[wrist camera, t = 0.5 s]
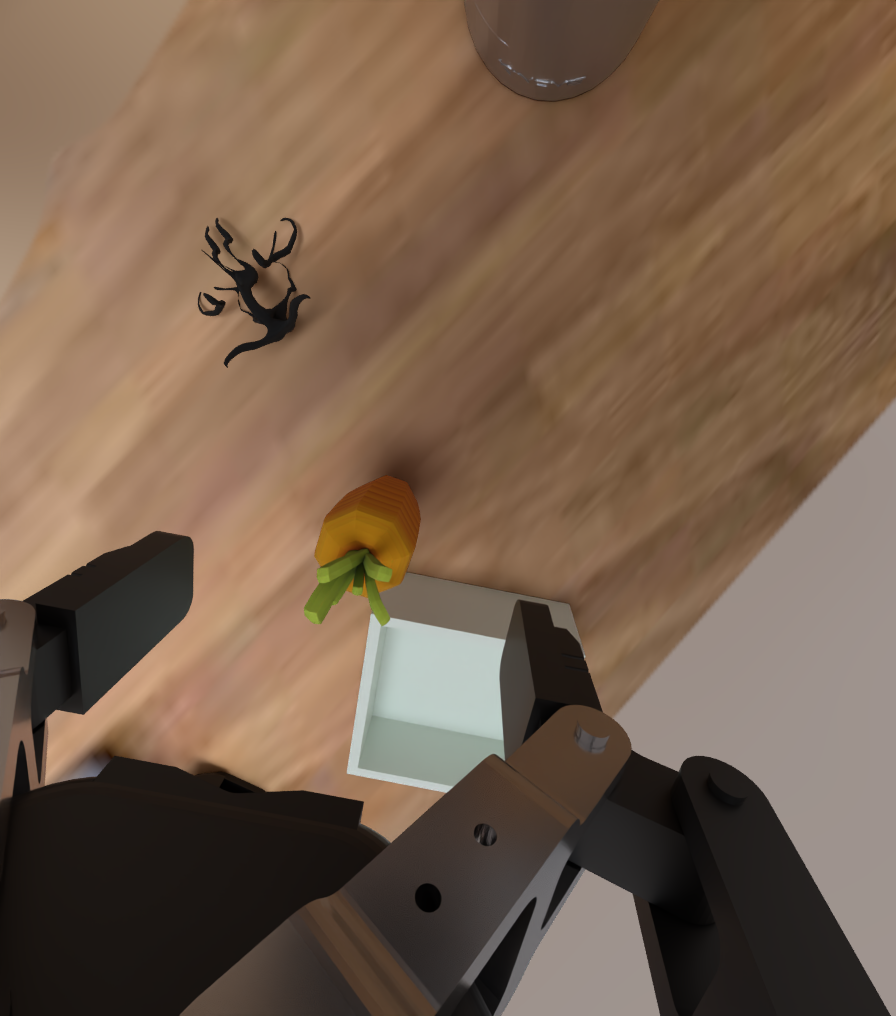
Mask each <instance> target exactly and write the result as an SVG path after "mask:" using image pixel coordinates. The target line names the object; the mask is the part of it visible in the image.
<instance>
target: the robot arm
mask: <svg viewBox="0 0 896 1016" xmlns="http://www.w3.org/2000/svg"><path fill="white" fill-rule="evenodd" d="M658 2H659V0H464V5H465V11H466V17H467V23H468V28H469V31H470V34H471V36H472V39H473V42H474V45H475V47H476V50H477V52H478V53H479V55H480V57H481V58H482V60H483V62H484V63H485V65H486V67H487V68H488V69H489V70H490V71H491V72H492V74H493V75H494V76H495V77H496V78H497V79H498V80H499V81H500V82H501V83H502V84H504V85H505V86H507V87H508V88H510V89H511V90H513V91H514V92H516V93H517V94H520V95H523V96H526V97H529V98H532V99H535V100H547V101H557V100H562V99H567V98H573V97H575V96H577V95H580V94H582V93H584V92H586V91H589V90H591V89H593V88H594V87H595V86H597V85H598V84H599V83H601V82H602V81H603V80H605V79H606V78H608V77H609V76H610V75H611V74H612V73H613V72H614V70H615V69H616V68H617V67H618V66H619V65H620V64H621V63H622V62H623V61H624V60H625V58H626V57H627V55H628V53H629V52H630V50H631V49H632V47H633V46H634V44H635V43H636V41H637V39H638V38H639V36H640V34H641V32H642V30H643V29H644V27H645V25H646V23H647V21H648V20H649V18H650V16H651V14H652V12H653V11H654V9H655V7H656V5H657V3H658ZM193 556H194V547H193V542H192V539H191V538H190V537H188V536H182V535H177V534H172V533H166V532H161V531H155V532H153V533H151V534H149V535H148V536H146V537H144V538H143V539H141V540H139V541H138V542H136V543H134V544H133V545H131V546H127V547H124V548H121V549H117V550H114V551H111V552H107V553H104V554H103V555H101V556H99V557H97V558H96V559H94V560H92V561H91V562H89V563H87V565H86V566H82V567H80V568H79V569H77V570H75V571H73V572H72V574H71V575H66V576H65V577H63V578H61V579H60V580H58V581H56V582H54V583H53V584H51V585H49V586H48V587H46V588H44V589H42V590H41V591H39V592H37V593H35V594H34V595H32V596H30V597H29V598H27V599H25V600H23V601H18V600H10V599H0V1016H501V1015H502V1013H503V1012H504V1010H505V1008H506V1006H507V1005H508V1003H509V1001H510V1000H511V998H512V996H513V994H514V992H515V990H516V988H517V986H518V984H519V983H520V981H521V979H522V976H523V975H524V972H525V970H526V968H527V966H528V964H529V962H530V960H531V958H532V956H533V954H534V952H535V950H536V949H537V947H538V945H539V944H540V942H541V940H542V939H543V937H544V936H545V934H546V932H547V931H548V929H549V928H550V926H551V924H552V923H553V921H554V919H555V918H556V916H557V915H558V913H559V911H560V910H561V908H562V906H563V905H564V903H565V902H566V900H567V898H568V897H569V895H570V893H571V892H572V890H573V888H574V887H575V885H576V884H577V882H578V881H579V879H580V877H581V876H582V874H583V872H584V871H585V869H587V870H588V871H590V872H592V873H594V874H596V875H598V876H600V877H602V878H604V879H606V880H608V881H609V882H611V883H613V884H616V885H617V886H619V887H621V888H623V889H625V890H627V891H629V892H631V893H633V897H634V902H635V906H636V910H637V915H638V919H639V924H640V928H641V932H642V937H643V941H644V946H645V950H646V954H647V959H648V963H649V968H650V972H651V977H652V981H653V985H654V990H655V994H656V999H657V1003H658V1007H659V1012H660V1016H891V1015H890V1013H889V1012H888V1010H887V1009H886V1006H885V1005H884V1003H883V1001H882V999H881V998H880V996H879V994H878V993H877V991H876V989H875V987H874V986H873V984H872V982H871V980H870V978H869V977H868V975H867V973H866V971H865V970H864V968H863V966H862V964H861V963H860V961H859V959H858V957H857V956H856V954H855V952H854V950H853V949H852V947H851V945H850V943H849V941H848V940H847V938H846V936H845V934H844V933H843V931H842V929H841V928H840V926H839V924H838V922H837V920H836V919H835V917H834V915H833V913H832V912H831V910H830V908H829V906H828V905H827V903H826V901H825V900H824V898H823V896H822V894H821V892H820V891H819V889H818V887H817V885H816V884H815V882H814V880H813V878H812V876H811V875H810V873H809V871H808V869H807V868H806V866H805V864H804V862H803V861H802V859H801V857H800V855H799V854H798V852H797V850H796V849H795V847H794V845H793V843H792V841H791V840H790V838H789V836H788V834H787V833H786V831H785V829H784V827H783V826H782V824H781V822H780V820H779V819H778V817H777V815H776V813H775V812H774V810H773V808H772V806H771V805H770V803H769V801H768V799H767V798H766V796H765V795H764V793H763V792H762V791H761V790H760V789H759V787H757V785H755V783H754V782H753V781H751V780H750V779H749V778H748V777H747V776H746V775H744V774H743V773H742V772H740V771H739V770H737V769H736V768H734V767H732V766H731V765H728V764H727V763H725V762H722V761H720V760H717V759H714V758H711V757H705V756H693V757H690V758H687V759H686V760H685V761H684V762H683V764H682V766H681V768H680V770H679V772H677V771H675V770H673V769H671V768H668V767H666V766H663V765H661V764H659V763H657V762H654V761H652V760H650V759H647V758H645V757H643V756H641V755H639V754H638V753H636V752H634V751H633V750H631V749H632V748H631V742H630V739H629V737H628V735H627V733H626V732H625V731H624V729H623V728H622V727H621V726H620V725H619V724H618V723H617V722H616V721H615V720H614V719H612V718H611V717H609V716H608V715H606V714H605V713H603V711H602V708H601V705H600V702H599V699H598V696H597V693H596V691H595V688H594V685H593V682H592V679H591V676H590V673H588V667H587V664H586V661H584V655H583V652H582V649H581V646H580V643H579V642H578V641H577V640H576V639H575V638H574V636H573V635H572V634H571V633H570V632H569V631H568V630H567V629H565V628H559V627H554V624H553V621H552V617H551V613H550V610H549V606H548V605H546V604H541V603H536V602H530V601H525V600H520V599H518V600H517V601H516V603H515V606H514V609H513V613H512V617H511V621H510V625H509V629H508V633H507V637H506V641H505V645H504V648H503V652H502V657H501V663H500V673H499V681H500V696H501V711H502V726H503V741H504V755H505V761H504V760H503V759H502V758H500V757H499V756H498V755H496V754H491V755H489V756H488V757H486V758H485V759H484V760H483V761H481V762H480V763H479V764H478V765H477V766H476V767H475V768H474V769H473V770H471V771H470V772H469V773H468V774H467V775H466V776H465V777H464V778H463V779H461V780H460V781H459V782H458V783H457V784H456V785H455V786H454V787H453V788H452V789H450V790H449V791H448V792H447V793H446V794H445V795H444V796H443V797H442V798H440V799H439V800H438V801H437V802H436V803H435V804H434V805H433V806H432V807H431V808H429V809H428V810H427V811H426V812H425V813H424V814H423V815H422V816H421V817H419V818H418V819H417V820H416V821H415V822H414V823H413V824H412V825H411V826H410V827H408V828H407V829H406V830H405V831H404V832H403V833H402V834H401V835H400V836H398V837H397V838H396V839H395V840H394V841H393V842H392V843H390V842H389V841H388V840H387V839H385V838H384V837H383V836H382V835H380V834H378V833H377V832H375V831H374V830H372V829H371V828H369V827H367V826H365V825H363V824H361V823H360V822H361V816H362V810H363V804H364V802H363V801H358V800H352V799H347V798H341V797H336V796H330V795H325V794H320V793H314V792H309V791H303V790H302V791H280V792H258V793H231V792H227V791H225V790H223V789H221V788H219V787H217V786H215V785H212V784H210V783H208V782H206V781H204V780H202V779H200V778H198V777H196V776H194V775H192V774H189V773H187V772H185V771H183V770H181V769H179V768H177V767H173V766H167V765H162V764H157V763H151V762H146V761H140V760H135V759H129V758H124V757H118V756H114V757H113V759H112V760H111V761H110V762H109V763H108V764H107V765H106V767H105V768H104V769H103V770H102V771H101V772H100V774H99V775H98V776H97V777H86V778H79V779H72V780H67V781H63V782H58V783H54V784H50V785H47V786H45V772H46V758H47V743H48V722H47V717H48V716H49V715H50V714H52V713H53V712H54V711H55V710H61V711H66V712H72V713H77V714H82V715H84V714H85V713H86V712H87V711H88V710H89V709H90V708H91V707H92V706H93V705H94V704H95V703H96V702H97V701H98V700H99V699H100V698H101V697H103V696H104V695H105V694H106V693H107V692H108V691H109V690H110V689H111V688H112V687H113V686H114V685H115V684H116V683H117V682H118V681H119V680H120V679H121V678H122V677H123V676H124V675H125V674H126V673H128V672H129V671H130V670H131V669H132V668H133V667H134V666H135V665H136V664H137V663H138V662H139V661H140V660H141V659H142V658H143V657H144V656H145V655H146V654H147V653H148V652H149V651H150V650H151V649H152V648H154V647H155V646H156V645H157V644H158V643H159V642H160V641H161V640H162V639H163V638H164V637H165V636H166V635H167V634H168V633H169V632H170V631H171V630H172V629H173V628H174V627H175V626H176V625H177V624H179V623H180V622H181V621H182V620H183V618H184V617H185V616H186V614H187V613H188V611H189V608H190V606H191V603H192V598H193Z"/></svg>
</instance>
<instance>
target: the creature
mask: <svg viewBox="0 0 896 1016" xmlns="http://www.w3.org/2000/svg"><path fill="white" fill-rule="evenodd" d="M284 220H288V221H290V222H291V224H292V226H293V228H294V231H293V234H292V236H291V238H290V241H289V243H288V245H287V247H285V248H284V249H283V250H281V251H278V252H276V253H274V254H273V250H274V245H275V241H276V231H275V233H274V239H273V247H272V250H271V253H270V256H269V259H268V260H265V259H264V258H263V257H262V256H261V255H260V254H259V253H258V252H257V251H256V250H255V249H253V250H252V255H253V257H254V259H255V260H256V262H257V263H258V264H259V265H260V266H261V267H263V268H267V267H269V266H270V265H271V263H272V262H275V261H277V260H279V259H280V258H282V257H285V256H286V255H288V254H290V253H291V250H292V248H293V245H294V242H295V240H296V236H297V228H296V225H295V223H294V221H293V220H291V219H289V218H282V219H281V221H284ZM218 221H219V220H218V218H216V220H215V223H216V228H217V229H218V230H219V232H220V233H221V235H222V236H223V237H224V238H225V240H224V243H223V245H224V247H225V249H226V250H227V251H228V252H229V253H230V254H231V255H232V256H233V257H234V258H235V259H236V260H237V261H238V262H239V263H240V265H242V266H243V267H244V268H245V270H242V271H235V270H232V269H230V268H228V267H227V268H228V269H230V270H231V271H230V270H228V269H226V268H225V267H226V266H225V267H224V265H222V264H221V262H220V261H219V259H218V254H220V249H219V247H218V246H217V245H216V243H215V242H214V241H213V240H212V239H211V238H210V237H209V235H208V232H209V227H207V228H206V232H205V238H206V240H207V242H208V243H209V245H210V247H211V248H212V250H213V252H212V256H213V258H212V257H210V256H209V255H208V254H207V253H205V252H204V251H203V250H202V251H203V252H204V253H205V254H206V255H208V256H209V257H210V258H211V259H212V260H213V261H214V262H215V263H216V264H217V265H219V264H220V265H221V266H222V267H223V268H224V269H223V268H222V267H221V266H220V265H219V266H220V267H221V268H222V269H223V270H224V271H225V272H226V273H228V274H229V275H230V276H231V277H232V278H233V279H234V280H235V282H236V284H237V287H234V288H226V289H225V288H219V287H214V288H215V289H217V290H235V291H236V292H237V293H238V296H239V291H240V293H241V295H242V298H243V300H244V302H245V304H246V305H247V307H248V308H249V310H250V311H251V312H252V313H253V314H251V313H249V312H246V311H243V310H242V309H241V308H240V309H241V311H243V312H245V313H248V314H249V315H250V316H252V317H253V321H254V322H255V323H259V324H263V325H265V326H266V327H267V329H268V332H267V335H266V336H265V337H264V338H263V339H261V340H259V341H255V342H249V343H244V344H241V345H239V346H237V347H236V348H234V349H233V350H232V351H231V352H230V353H229V355H228V356H227V357H226V358H225V361H224V365H225V366H226V367H227V368H228V366H227V365H228V363H229V361H230V360H231V359H233V358H234V357H235V356H236V355H238V354H240V353H241V352H244V351H249V350H254V349H257V348H260V347H262V346H265V345H267V344H270V343H273V342H277V341H280V340H281V339H283V338H284V336H285V335H286V334H287V333H289V332H291V331H292V330H293V329H294V327H295V322H296V319H297V316H298V314H297V310H298V307H299V304H300V303H301V301H303V300H304V299H306V298H309V299H310V297H309V296H308V295H306V294H302V295H299V296H297V297H296V298H294V299H293V300H292V301H291V303H290V309H289V318H288V319H287V318H286V312H287V302H288V299H289V296H290V294H291V292H294V291H296V290H297V289H296V287H295V285H294V283H293V281H292V280H291V278H290V277H289V271H288V269H287V268H286V267H285V266H284V265H283V264H282V265H283V266H284V267H285V268H286V269H287V272H288V279H289V281H290V284H291V287H290V288H288V291H287V295H286V297H285V298H284V299H283V300H282V301H281V302H280V303H279V304H278V305H276V306H275V307H274V308H273V309H265V308H264V307H262V306H261V305H259V304H258V302H257V301H256V300H255V298H254V297H253V295H252V291H251V288H252V287H253V286H254V284H256V283H257V281H258V273H257V271H256V270H255V268H253V267H252V266H251V265H249V264H248V263H246V262H244V261H241V260H239V259H237V258H236V257H235V256H234V255H233V254H232V253H231V251H230V248H229V246H228V245H229V243H232V241H233V238H232V237H231V236H230V234H229V233H228V232H227V231H226V230H224V229H223V228H222V227H221V226H220V224H219V223H218ZM276 263H278V262H276ZM280 264H281V263H280ZM232 271H233V272H232ZM200 294H201V292H200ZM200 294H199V297H198V307H199V310H200V311H201V313H202V314H204V315H207V316H216V315H219V314H220V313H221V311H222V310H223V308H224V306H225V304H226V302H225V301H223V300H221V301H218V300H216V299H215V298H213V297H212V296H211V295H209V294H206V293H204V294H203V295H204V297H205V298H206V299H207V300H208V301H209V302H210V303H211V304H212V305H216V307H215V310H214V311H205V312H203V310H202V309H201V307H200V305H199V298H200ZM238 303H239V300H238ZM239 306H240V304H239Z"/></svg>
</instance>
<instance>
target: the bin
mask: <svg viewBox="0 0 896 1016" xmlns="http://www.w3.org/2000/svg"><path fill="white" fill-rule="evenodd" d="M379 595H380V598H381V601H382V603H383V605H384V607H385V608H386V610H387V612H388V614H389V616H390V621H389V622H388V623H387V624H386V625H384V626H381V625H380V623H379V622H378V620H377V618H376V617H375V615H374V613H373V611H372V613H371V618H370V624H369V631H368V637H367V644H366V651H365V657H364V664H363V670H362V677H361V683H360V690H359V697H358V703H357V710H356V716H355V723H354V729H353V736H352V743H351V749H350V756H349V762H348V769H347V774H352V775H357V776H363V777H368V778H373V779H378V780H383V781H389V782H394V783H399V784H404V785H409V786H415V787H420V788H425V789H430V790H435V791H441V792H446V793H447V792H448V791H449V790H450V789H452V788H453V787H454V786H455V785H456V784H457V783H458V782H459V781H460V780H461V779H463V778H464V777H465V776H466V775H467V774H468V773H469V772H470V771H471V770H473V769H474V768H475V767H476V766H477V765H478V764H479V763H480V762H481V761H483V760H484V759H485V758H486V757H488V756H489V755H491V754H496V755H498V756H499V757H500V758H502V759H503V760H504V761H505V755H504V741H503V726H502V711H501V696H500V681H499V673H500V663H501V657H502V652H503V648H504V645H505V641H506V637H507V633H508V629H509V625H510V621H511V617H512V613H513V609H514V606H515V603H516V601H517V600H518V599H520V600H525V601H530V602H536V603H541V604H546V605H548V606H549V610H550V613H551V617H552V621H553V624H554V627H559V628H565V629H567V630H568V631H569V632H570V633H571V634H572V635H573V636H574V638H575V639H576V640H577V641H578V642H579V643H580V646H581V649H582V652H583V655H584V658H585V653H584V649H583V646H582V643H581V640H580V637H579V634H578V630H577V627H576V624H575V621H574V618H573V614H572V611H571V608H570V605H569V604H567V603H562V602H557V601H551V600H546V599H541V598H536V597H531V596H526V595H521V594H516V593H511V592H505V591H500V590H495V589H490V588H485V587H480V586H475V585H470V584H464V583H459V582H454V581H449V580H444V579H439V578H434V577H429V576H423V575H418V574H413V573H408V572H406V574H405V576H404V579H403V581H402V583H401V584H400V585H398V586H395V587H393V588H390V589H388V590H385V591H383V592H380V593H379Z"/></svg>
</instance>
